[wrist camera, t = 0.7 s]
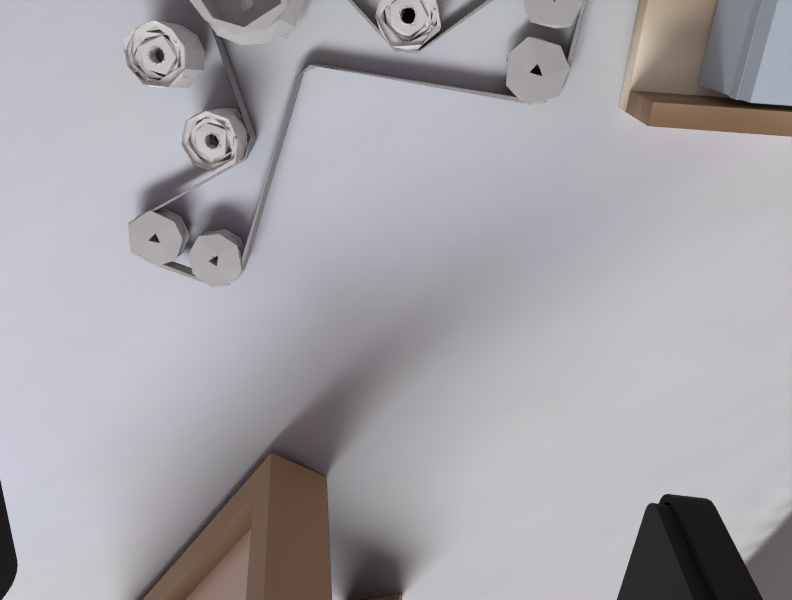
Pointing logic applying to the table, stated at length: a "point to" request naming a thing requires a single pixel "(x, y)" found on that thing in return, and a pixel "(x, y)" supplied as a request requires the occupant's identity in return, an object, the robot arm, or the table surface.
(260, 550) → the photo frame
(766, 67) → the square socket plate
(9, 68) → the table surface
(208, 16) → the pulley system
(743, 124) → the bay
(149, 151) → the table surface
